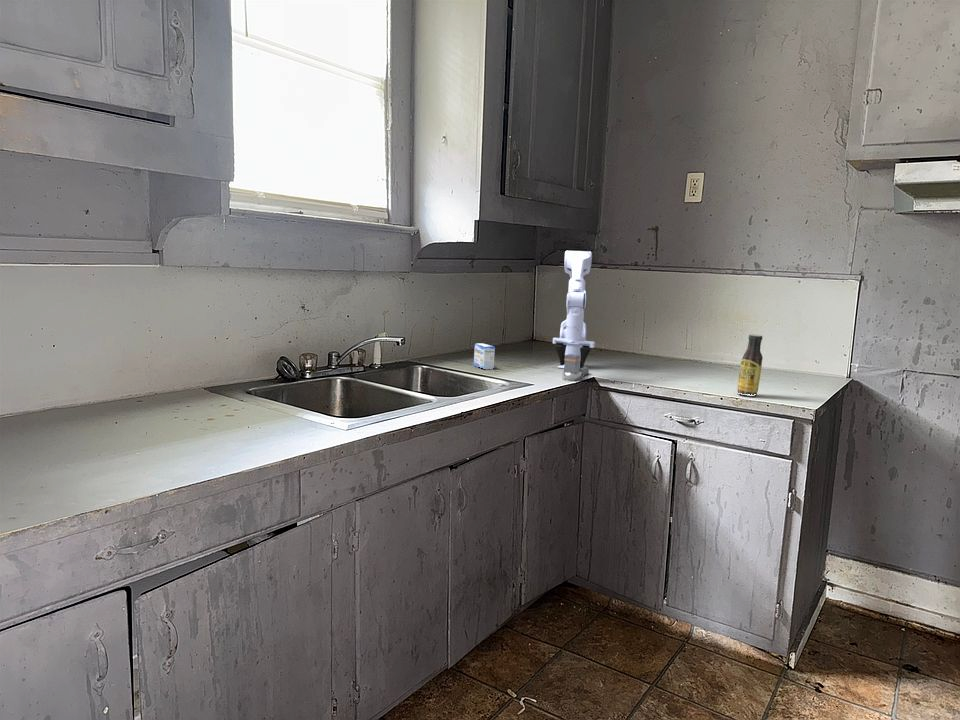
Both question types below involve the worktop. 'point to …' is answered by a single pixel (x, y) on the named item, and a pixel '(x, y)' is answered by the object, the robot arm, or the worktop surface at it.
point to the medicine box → (484, 356)
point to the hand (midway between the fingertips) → (571, 366)
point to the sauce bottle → (751, 366)
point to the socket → (571, 363)
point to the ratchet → (575, 376)
